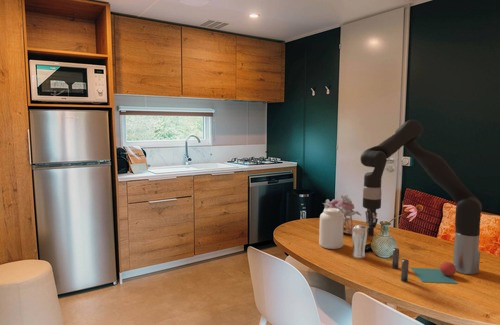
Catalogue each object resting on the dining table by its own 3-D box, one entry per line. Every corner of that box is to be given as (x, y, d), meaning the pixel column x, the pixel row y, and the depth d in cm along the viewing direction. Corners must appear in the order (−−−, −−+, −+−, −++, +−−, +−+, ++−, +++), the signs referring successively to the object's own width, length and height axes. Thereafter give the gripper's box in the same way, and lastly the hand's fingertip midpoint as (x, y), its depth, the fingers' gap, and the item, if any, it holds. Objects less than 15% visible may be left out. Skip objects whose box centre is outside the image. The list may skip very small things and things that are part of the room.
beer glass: (356, 259, 172) (357, 229, 170) (348, 254, 178) (349, 225, 176) (368, 258, 173) (370, 228, 172) (360, 252, 180) (361, 224, 178)
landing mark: (443, 269, 160) (443, 268, 160) (457, 283, 146) (457, 283, 146) (410, 268, 162) (410, 267, 162) (422, 282, 148) (422, 281, 148)
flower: (372, 227, 216) (356, 189, 221) (362, 234, 197) (345, 192, 202) (342, 236, 226) (327, 199, 231) (330, 243, 207) (315, 203, 212)
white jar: (340, 241, 197) (341, 206, 194) (344, 249, 184) (345, 212, 182) (318, 241, 198) (318, 206, 195) (320, 249, 185) (321, 211, 183)
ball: (454, 265, 156) (444, 256, 156) (461, 271, 150) (451, 262, 150) (444, 275, 157) (434, 266, 157) (451, 281, 151) (441, 272, 151)
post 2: (406, 279, 150) (407, 259, 149) (408, 282, 148) (409, 261, 147) (400, 279, 150) (401, 258, 149) (402, 282, 148) (403, 261, 147)
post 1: (397, 266, 163) (398, 247, 162) (399, 269, 161) (400, 250, 159) (391, 266, 163) (392, 247, 162) (393, 268, 161) (394, 249, 160)
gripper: (385, 200, 146) (383, 241, 148) (377, 193, 159) (375, 231, 161) (366, 200, 147) (364, 240, 149) (360, 193, 160) (358, 230, 162)
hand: (370, 235), depth 155 cm, fingers closed
